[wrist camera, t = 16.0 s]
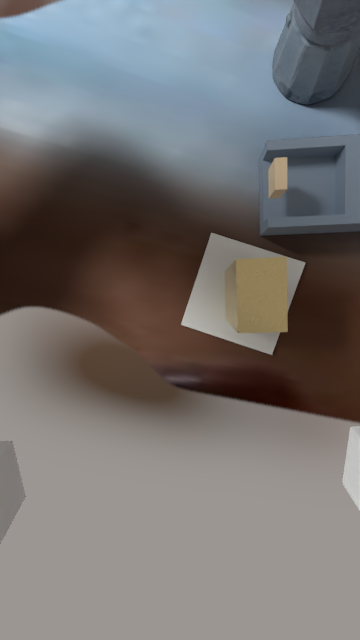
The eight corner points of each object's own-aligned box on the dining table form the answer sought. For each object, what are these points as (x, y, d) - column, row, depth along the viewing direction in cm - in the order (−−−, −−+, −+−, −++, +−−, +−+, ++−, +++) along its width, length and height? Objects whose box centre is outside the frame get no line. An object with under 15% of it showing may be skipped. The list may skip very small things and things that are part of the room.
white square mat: (181, 324, 41) (181, 324, 41) (211, 233, 40) (211, 232, 39) (271, 354, 40) (271, 355, 40) (304, 263, 39) (305, 262, 39)
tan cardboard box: (225, 319, 40) (237, 333, 26) (224, 271, 40) (235, 259, 26) (258, 318, 40) (287, 332, 26) (257, 269, 39) (286, 256, 25)
